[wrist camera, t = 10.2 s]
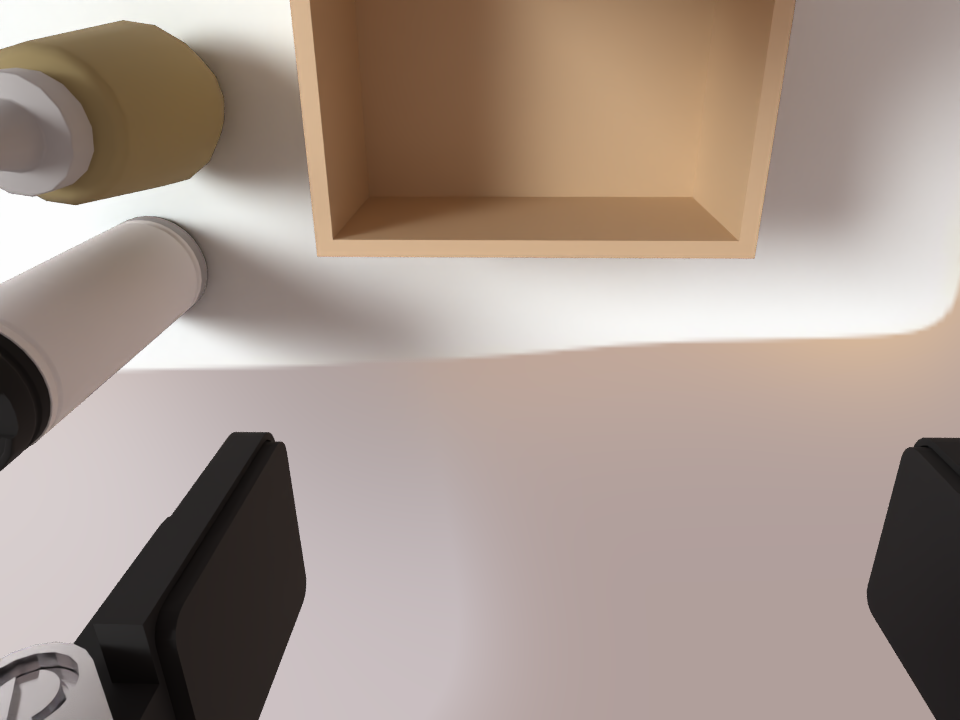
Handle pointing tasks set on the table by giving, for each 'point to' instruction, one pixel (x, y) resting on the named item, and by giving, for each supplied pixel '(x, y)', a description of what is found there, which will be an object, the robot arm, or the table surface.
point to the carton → (539, 125)
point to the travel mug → (88, 320)
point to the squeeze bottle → (104, 113)
